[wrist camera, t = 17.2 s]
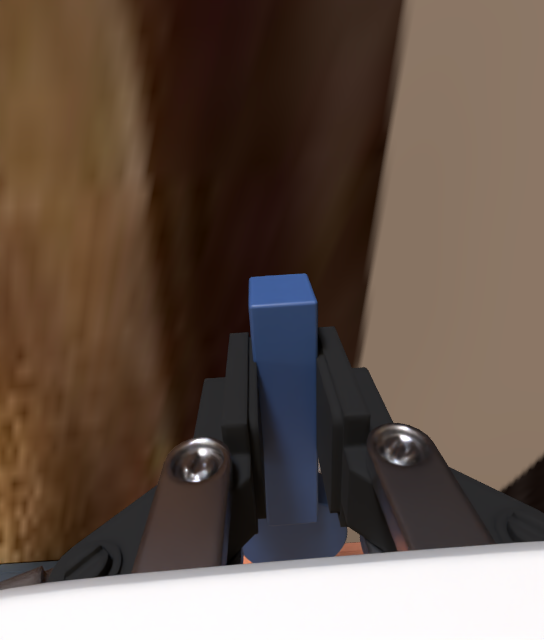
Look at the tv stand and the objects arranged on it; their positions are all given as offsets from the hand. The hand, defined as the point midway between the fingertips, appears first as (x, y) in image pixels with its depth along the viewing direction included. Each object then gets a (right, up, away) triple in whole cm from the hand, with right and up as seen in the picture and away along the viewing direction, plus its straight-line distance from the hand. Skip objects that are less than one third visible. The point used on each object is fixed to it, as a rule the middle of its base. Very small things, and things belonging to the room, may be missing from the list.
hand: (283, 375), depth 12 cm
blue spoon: (0, -2, +2) cm, 3 cm away
